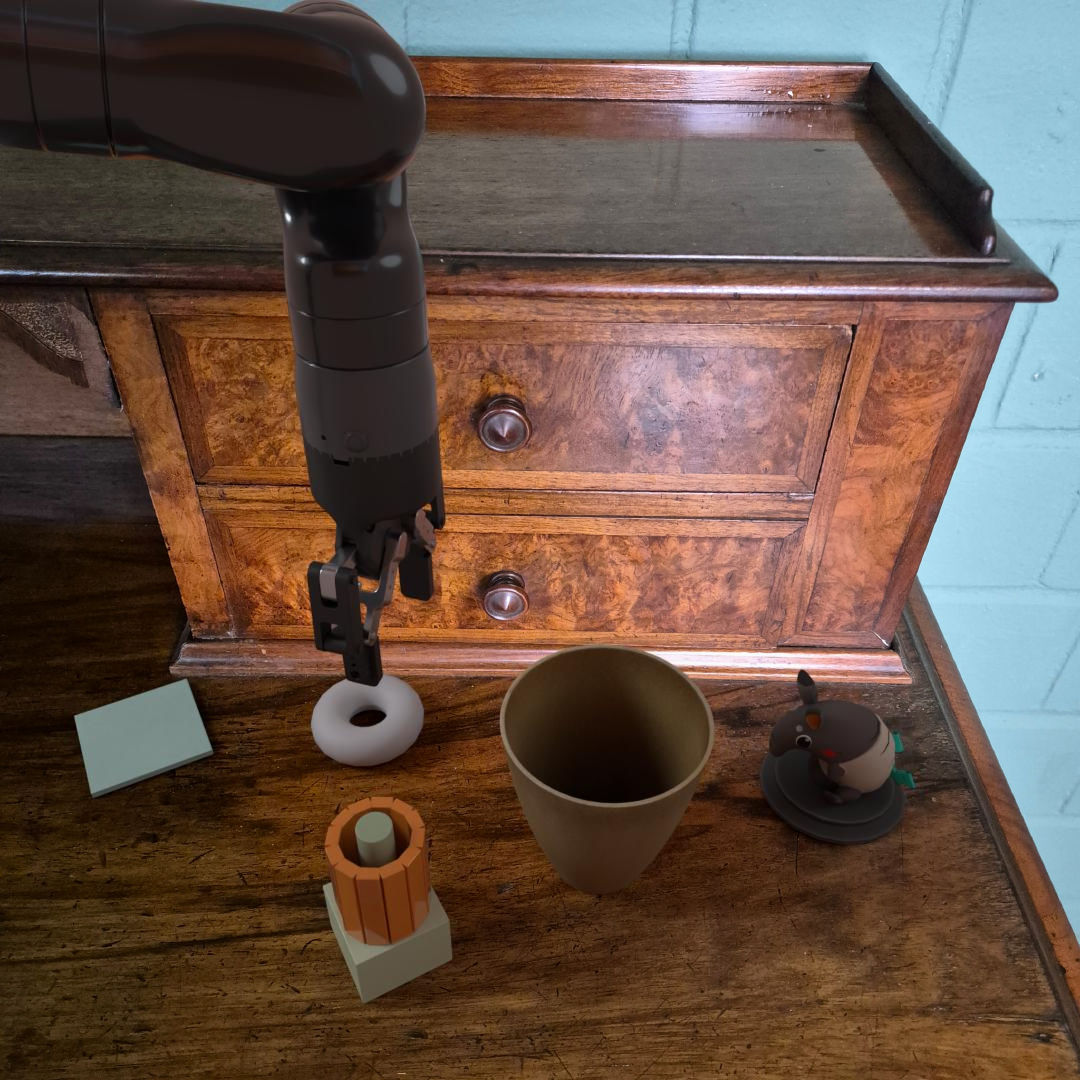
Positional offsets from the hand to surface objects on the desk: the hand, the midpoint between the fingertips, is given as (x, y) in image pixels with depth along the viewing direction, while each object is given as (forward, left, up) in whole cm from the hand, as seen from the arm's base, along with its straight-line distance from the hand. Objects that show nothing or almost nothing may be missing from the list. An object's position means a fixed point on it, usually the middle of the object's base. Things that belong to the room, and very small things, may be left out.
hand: (392, 636), depth 62 cm
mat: (-17, +23, -23) cm, 36 cm away
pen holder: (-5, -6, -18) cm, 20 cm away
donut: (+1, +14, -23) cm, 27 cm away
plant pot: (+12, -7, -23) cm, 27 cm away
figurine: (+33, -11, -23) cm, 42 cm away
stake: (-5, -6, -23) cm, 24 cm away
